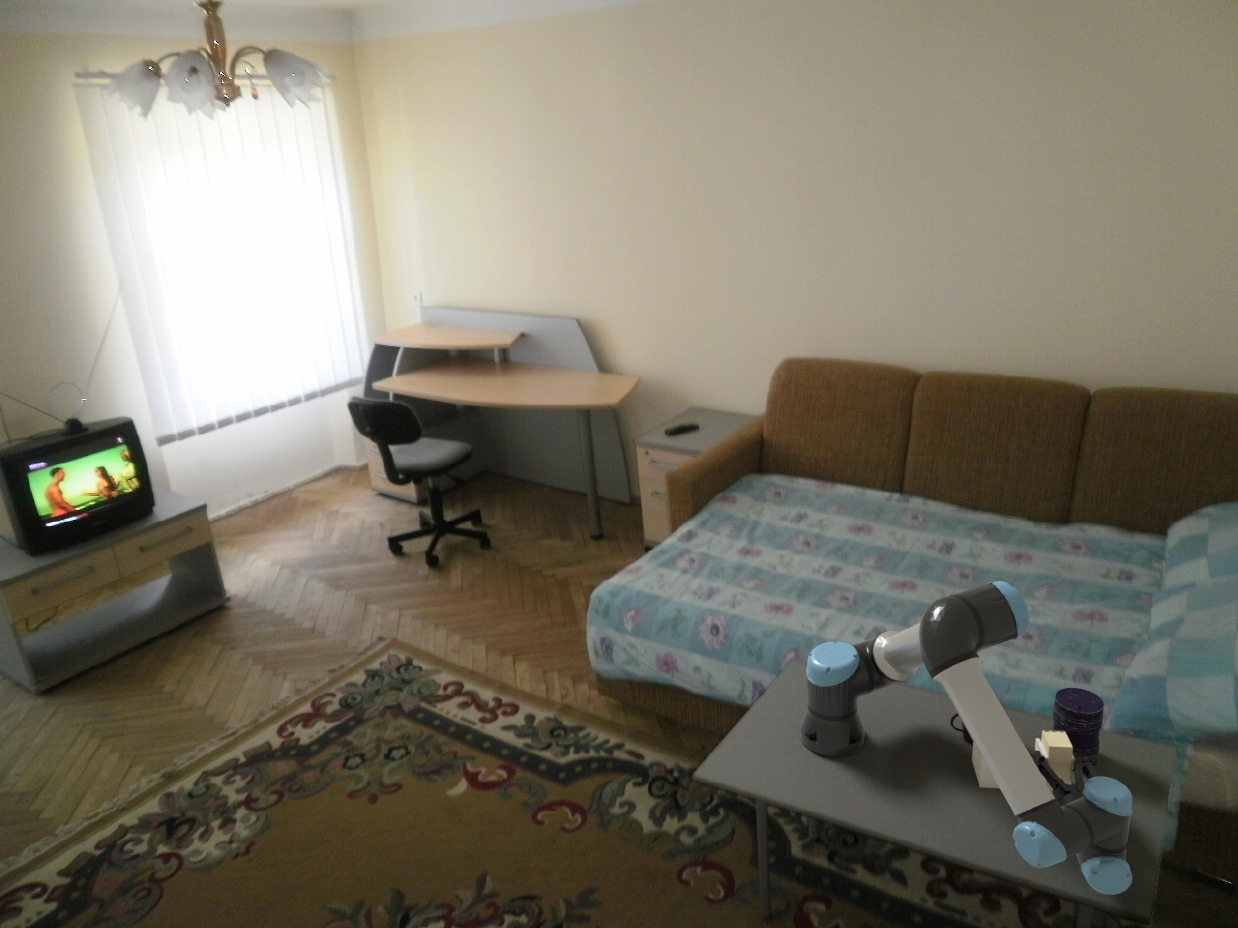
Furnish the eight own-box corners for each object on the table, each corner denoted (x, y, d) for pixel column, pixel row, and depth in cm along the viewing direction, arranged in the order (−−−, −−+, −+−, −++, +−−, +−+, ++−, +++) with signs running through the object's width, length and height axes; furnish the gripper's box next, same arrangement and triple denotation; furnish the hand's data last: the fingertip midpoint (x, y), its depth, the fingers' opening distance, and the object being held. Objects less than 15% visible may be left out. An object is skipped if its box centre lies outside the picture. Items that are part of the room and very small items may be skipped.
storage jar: (1050, 738, 208) (1055, 683, 203) (1097, 748, 204) (1104, 692, 199) (1047, 764, 200) (1053, 707, 195) (1097, 775, 195) (1104, 717, 190)
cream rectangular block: (1045, 790, 188) (1049, 745, 184) (1038, 773, 193) (1042, 729, 189) (1068, 791, 187) (1072, 746, 183) (1060, 774, 192) (1065, 730, 188)
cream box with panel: (980, 787, 194) (983, 744, 191) (972, 760, 203) (974, 718, 199) (1001, 788, 194) (1005, 745, 190) (992, 761, 202) (996, 719, 198)
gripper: (1033, 833, 173) (1005, 756, 194) (1131, 839, 170) (1092, 760, 191) (1036, 801, 170) (1007, 727, 192) (1136, 806, 167) (1096, 730, 189)
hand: (1050, 744), depth 192 cm, fingers closed on cream rectangular block, 4 cm apart
